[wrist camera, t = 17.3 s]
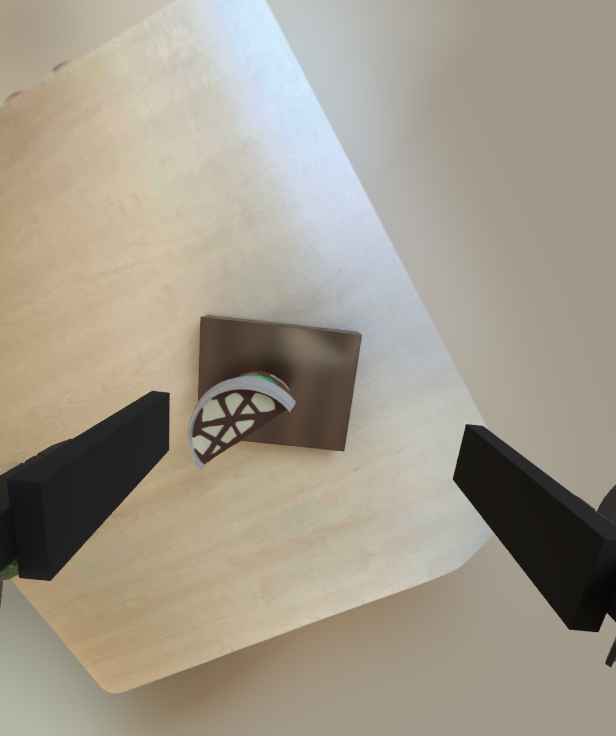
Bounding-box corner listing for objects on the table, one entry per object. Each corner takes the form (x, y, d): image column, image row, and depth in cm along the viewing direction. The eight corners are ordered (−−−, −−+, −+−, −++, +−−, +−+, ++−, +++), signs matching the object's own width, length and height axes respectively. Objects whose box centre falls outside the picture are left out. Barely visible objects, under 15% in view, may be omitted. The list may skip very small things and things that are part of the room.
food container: (270, 341, 39) (257, 357, 29) (298, 381, 40) (295, 409, 30) (193, 395, 40) (156, 427, 31) (223, 431, 41) (196, 473, 32)
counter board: (358, 331, 41) (361, 334, 38) (342, 441, 45) (344, 451, 42) (208, 315, 41) (200, 316, 38) (204, 427, 45) (196, 436, 42)
